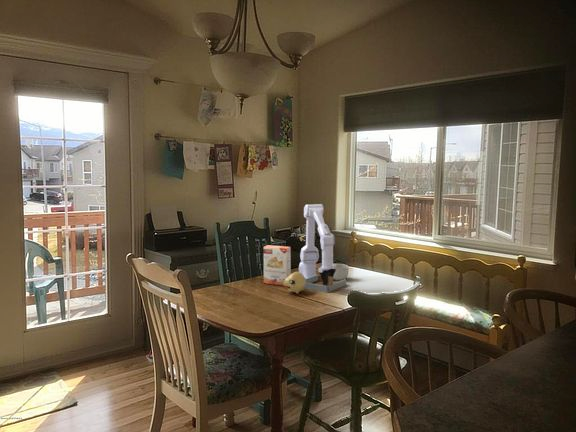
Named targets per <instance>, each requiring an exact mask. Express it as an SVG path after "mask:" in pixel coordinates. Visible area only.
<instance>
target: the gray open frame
mask: <svg viewBox="0 0 576 432" xmlns="http://www.w3.org/2000/svg"><path fill="white" fill-rule="evenodd" d="M318 276H319V275H318V274H316V275H315V276H312V277H309V278H305V279H306V284H305V289H307V290H310V291H311V290H312V291H317V292H322V293H323V292H324V293H331V292H333V291H335V290H338V289H339V288H340V289H341V288H342V287H345V286H347V278H346V279H344V280H338V281H337V282H333V284H332V285H329V286H324V285H323V284H318V283H314V282H318V281H319V277H318Z"/></svg>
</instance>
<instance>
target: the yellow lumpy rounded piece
mask: <svg viewBox="0 0 576 432" xmlns="http://www.w3.org/2000/svg"><path fill="white" fill-rule="evenodd" d="M283 284H284V286H283V287H285V288H286V289H288V292H290V293H295V294H296V295H297V294H299V293H300V292H301V291H303V290H305V289H306V288H305V284H306V278H305V277H304V276H303V274H301V273H300V272H299V271H295V272H291V275H290V276H289V277H286V278H285V279H283Z"/></svg>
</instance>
